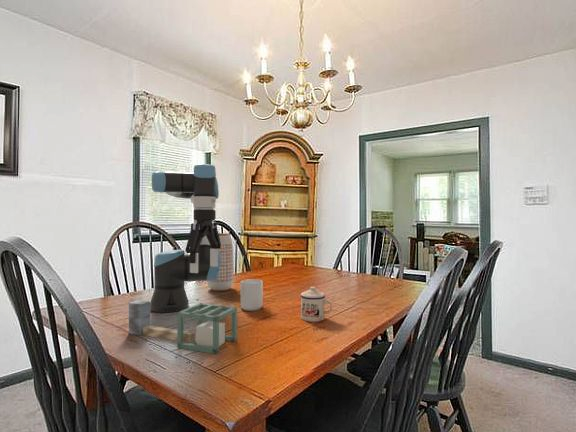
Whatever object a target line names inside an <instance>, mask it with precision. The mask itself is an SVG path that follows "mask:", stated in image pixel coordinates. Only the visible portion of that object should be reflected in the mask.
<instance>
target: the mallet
mask: <svg viewBox="0 0 576 432" xmlns="http://www.w3.org/2000/svg"><path fill="white" fill-rule="evenodd" d="M150 302H151V300H150V301H149V300H141V299H138V300H135V301H131V302H128V334H129V333H131V334H130V335H133V334H136V335H135V336H139V335H142V336H146V335H147V336H146V337H153V338H159V339H164V340H171V341H176V342H177V329H175V328H168V327H161V326H155V325H151V310H150ZM195 341H196V331H189V330H188V331H187V330H183V343H190V344H191V343H193V342H195Z"/></svg>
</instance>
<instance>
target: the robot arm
mask: <svg viewBox="0 0 576 432" xmlns="http://www.w3.org/2000/svg"><path fill="white" fill-rule="evenodd" d="M151 189H152V191H153V192H154V193H161V194H162V193H164V194H165V193H166V194H167V196H170V197H175V198H179V199H189V200H190V202H191V203H192V205H193V223H190V232H189V235H188V238H187V243H186V246H185V250H184V249H173V250H167V251H162V252H159V253H157V254H155V255H154V264H153V267H154V270H153V271H154V274H153V275H154V279H153V281H154V283H153V285H154V289H153V293H152V297H151V300H150V312H154V313H174V312H180V311H182V310H185V309H187V308H190V307H189V303H190V301H189V299H188V296H187V293H186V292H187V291H186V290H185V282H204V281H205V282H207V281H209V280H216V279H217V278H218V277H219V270H220V261H221V253H220V252H218V248H219V249H220V248H221V242H220V238H219V234H218V233H219V230H218V223H217V221H215V220H216V214H217V213H216V210H215V208H216V202H217V199H219V194H220V193H219V183H218V179H217V173H216V166H215V165H214V164H207V163H204V164H203V163H197V164H195V165H194V166H193V172H185V171H183V172H176V171H154V172H152V174H151ZM217 242H218V243H217Z"/></svg>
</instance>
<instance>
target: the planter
mask: <svg viewBox="0 0 576 432" xmlns="http://www.w3.org/2000/svg"><path fill="white" fill-rule="evenodd" d="M218 234H219V238H220V242H221V248H220V249H219V248H218V252H220V253H221V261H220V270H219V277H218V278H217V279H216V280H209V281H206V282H207V283H206V284H207V285H208V287H209V288H210V289H211V291H212V292H226V291H229V290H230V288H232V286H233V285H234V280H235V271H234V270H235V269H234V268H235V267H234V264H235V263H234V248H233V239H232V236H231V235H230V233H227V232H226V233H225V232H223V233H221V232H218ZM217 243H218V242H217Z"/></svg>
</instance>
